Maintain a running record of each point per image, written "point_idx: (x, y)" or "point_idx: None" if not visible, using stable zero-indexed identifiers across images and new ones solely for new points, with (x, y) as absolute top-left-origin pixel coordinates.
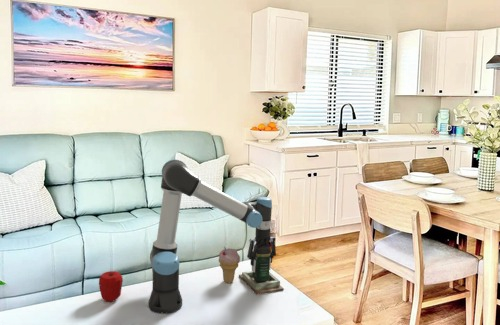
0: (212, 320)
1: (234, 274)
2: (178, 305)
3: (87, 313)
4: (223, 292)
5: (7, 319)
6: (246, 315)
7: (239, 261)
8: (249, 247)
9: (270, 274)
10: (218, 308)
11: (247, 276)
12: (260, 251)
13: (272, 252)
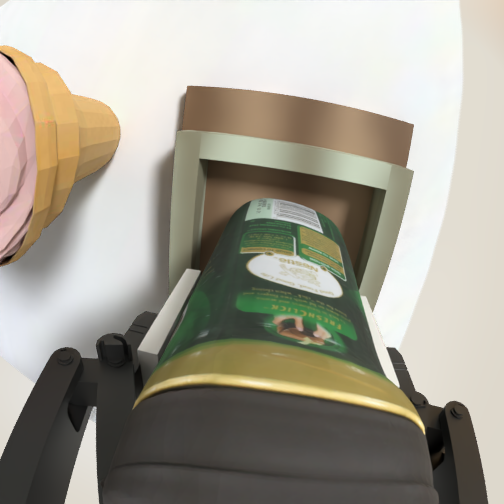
0: (14, 367)
1: (93, 164)
2: None
3: None
4: (43, 246)
5: None
6: (95, 409)
7: (37, 230)
8: (4, 473)
9: (370, 278)
10: (23, 335)
11: (179, 221)
12: None
13: (446, 433)
